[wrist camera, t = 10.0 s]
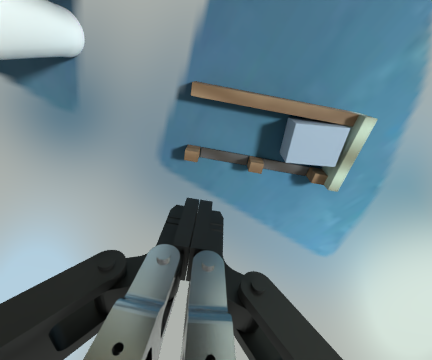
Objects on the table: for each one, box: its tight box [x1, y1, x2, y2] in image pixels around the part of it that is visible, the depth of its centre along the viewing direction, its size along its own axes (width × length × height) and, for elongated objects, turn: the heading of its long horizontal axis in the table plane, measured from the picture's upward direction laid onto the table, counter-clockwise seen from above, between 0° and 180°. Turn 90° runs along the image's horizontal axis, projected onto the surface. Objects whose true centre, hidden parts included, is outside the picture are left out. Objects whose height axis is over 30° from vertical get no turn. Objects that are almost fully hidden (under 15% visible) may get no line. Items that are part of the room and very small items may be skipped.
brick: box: [280, 117, 350, 167], centre depth 29 cm, size 6×7×4 cm
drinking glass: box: [0, 0, 85, 60], centre depth 19 cm, size 7×7×15 cm
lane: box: [184, 81, 378, 192], centre depth 29 cm, size 11×24×4 cm, turn 80°
